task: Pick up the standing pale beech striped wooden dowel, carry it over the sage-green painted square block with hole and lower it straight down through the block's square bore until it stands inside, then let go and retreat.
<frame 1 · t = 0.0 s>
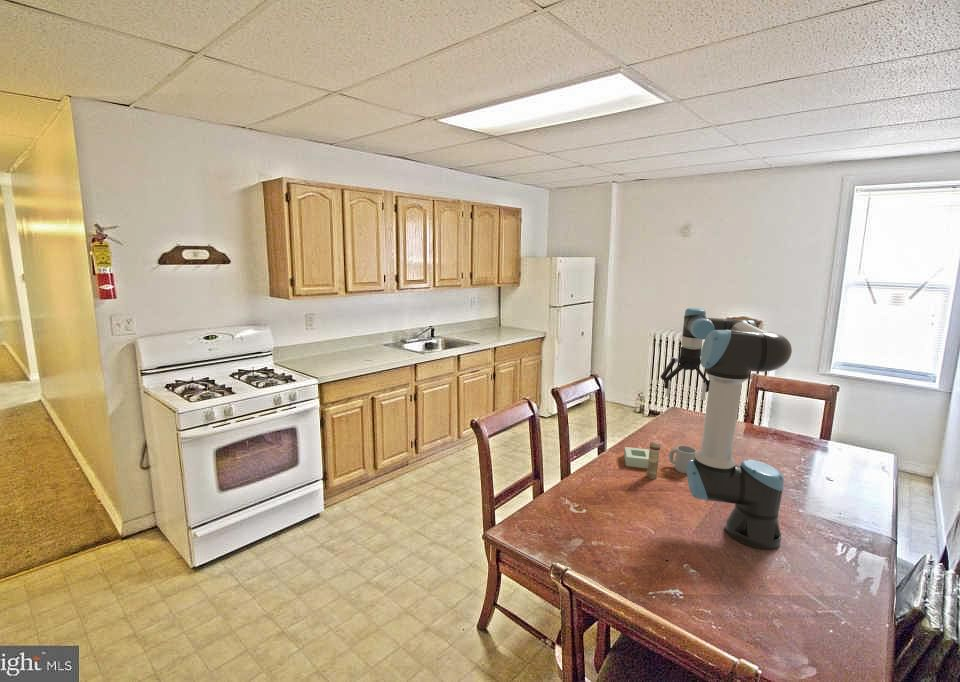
hand: (685, 397, 194), 28 cm above the table, fingers open, 13 cm apart
square block with hole: (637, 462, 198), on the table
cup: (680, 469, 193), on the table
striped wooden dowel: (651, 476, 186), on the table
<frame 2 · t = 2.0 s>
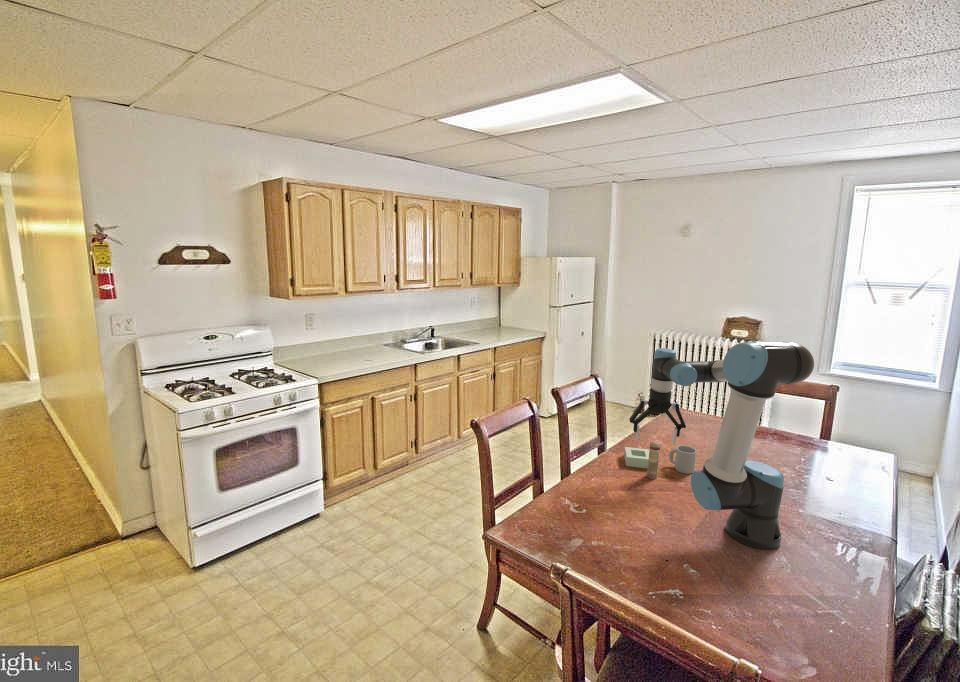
hand: (654, 441, 183), 14 cm above the table, fingers open, 13 cm apart
nothing on the table moved.
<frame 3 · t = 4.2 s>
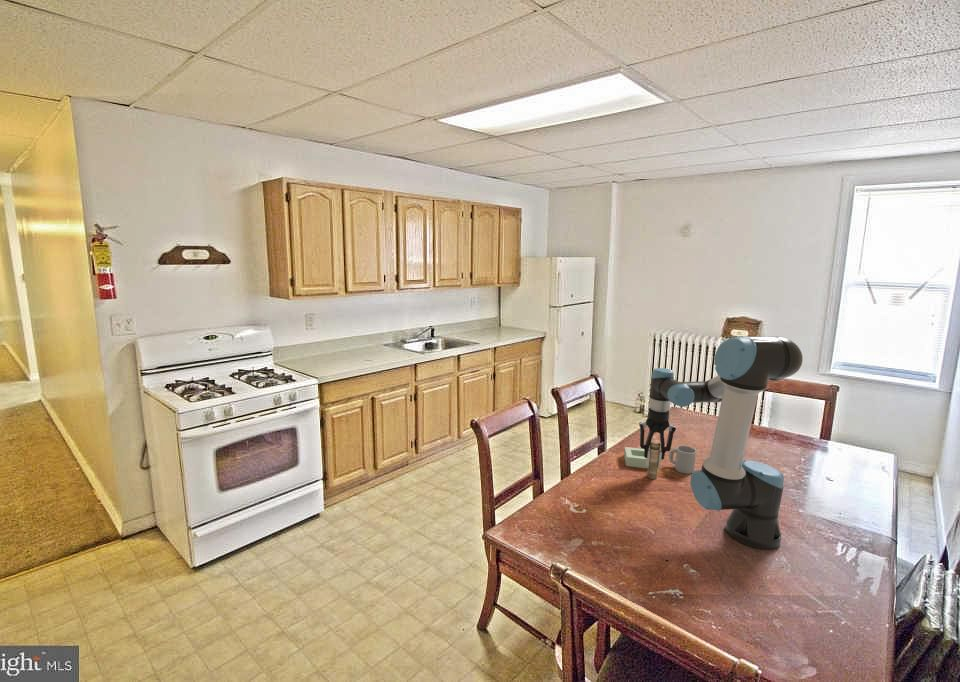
hand: (652, 465, 185), 5 cm above the table, fingers closed on striped wooden dowel, 3 cm apart
striped wooden dowel: (651, 476, 186), on the table, touching gripper
everything else where it was.
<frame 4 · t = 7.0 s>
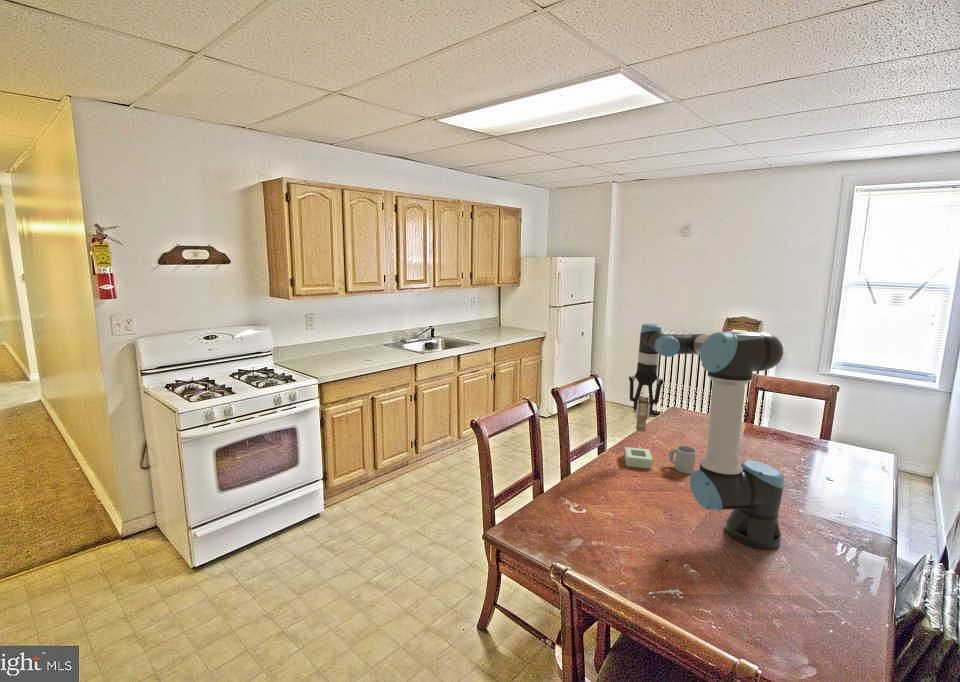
hand: (641, 417, 194), 19 cm above the table, fingers closed on striped wooden dowel, 3 cm apart
striped wooden dowel: (640, 429, 195), point 14 cm above the table, touching gripper
everything else where it was.
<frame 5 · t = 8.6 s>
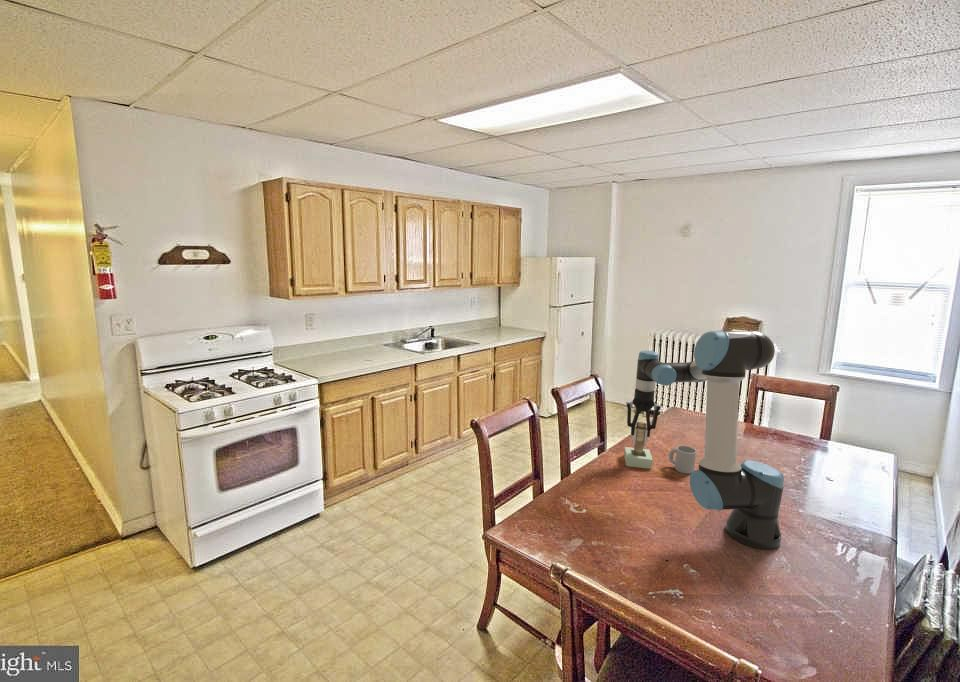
hand: (639, 442, 196), 8 cm above the table, fingers closed on striped wooden dowel, 3 cm apart
striped wooden dowel: (638, 454, 197), point 3 cm above the table, touching gripper
everything else where it was.
when the fingers open (6 cm above the table, at t = 10.0 s): striped wooden dowel stays where it is, resting in square block with hole.
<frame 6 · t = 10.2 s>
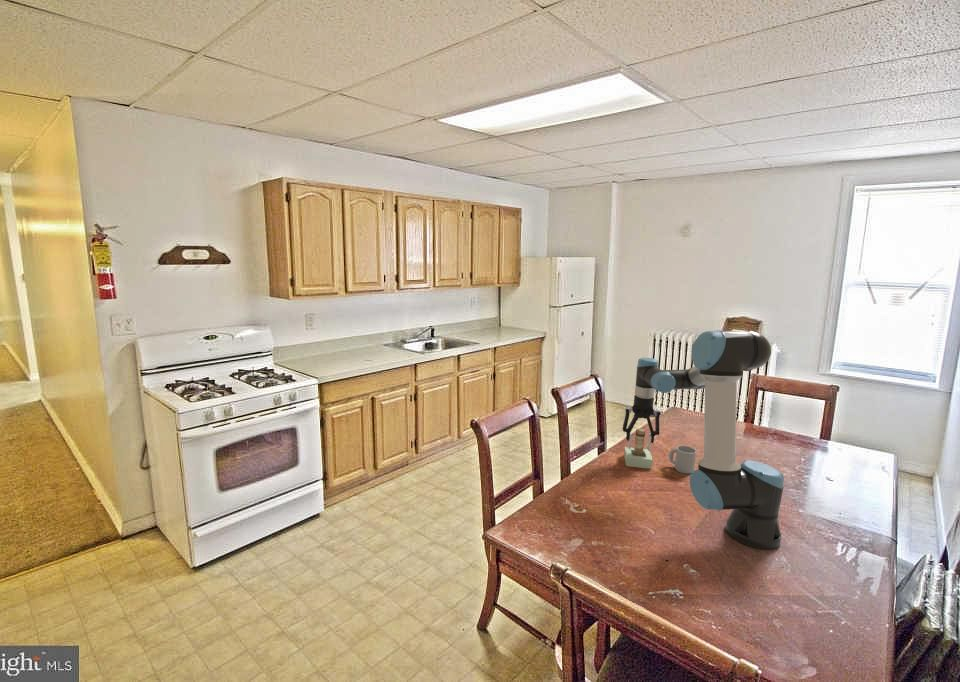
hand: (638, 448, 197), 6 cm above the table, fingers open, 7 cm apart
striped wooden dowel: (637, 462, 198), resting in square block with hole
everything else where it was.
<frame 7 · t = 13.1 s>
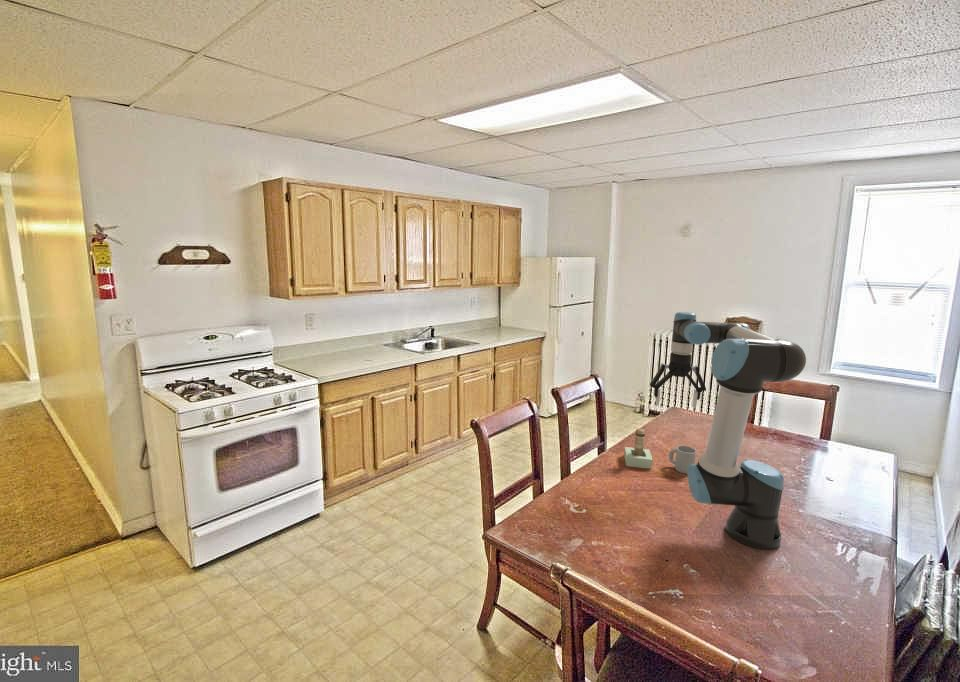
hand: (675, 406, 185), 27 cm above the table, fingers open, 13 cm apart
nothing on the table moved.
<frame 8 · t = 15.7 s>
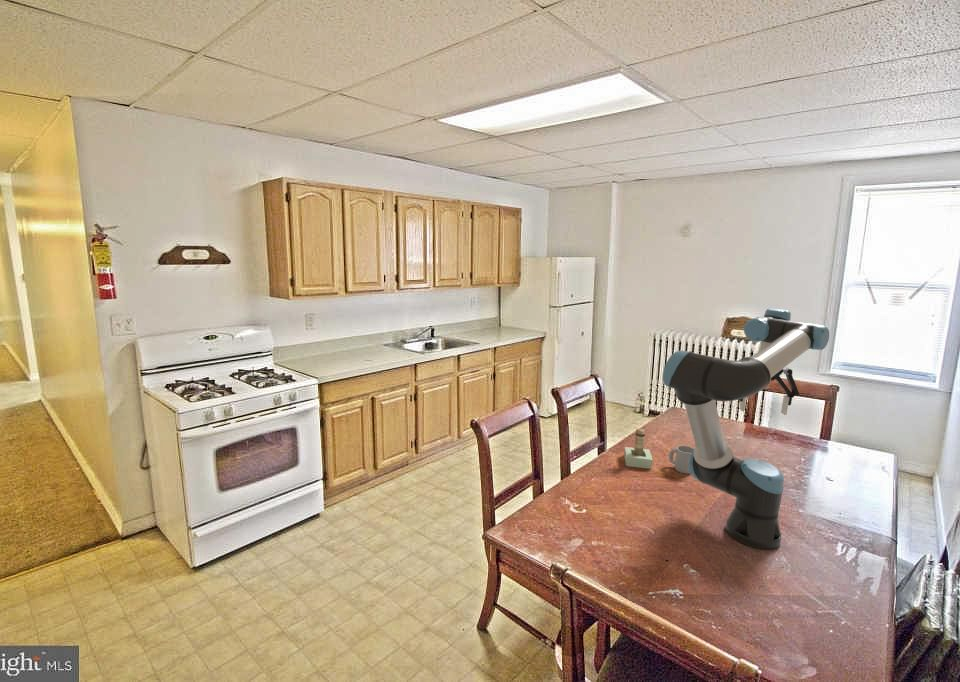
hand: (762, 411, 169), 32 cm above the table, fingers open, 13 cm apart
nothing on the table moved.
at the end: striped wooden dowel 0.0 cm off-centre on the square block with hole, point 0.0 cm above the square block with hole's base; striped wooden dowel tilted 0°; the gripper is holding nothing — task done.
